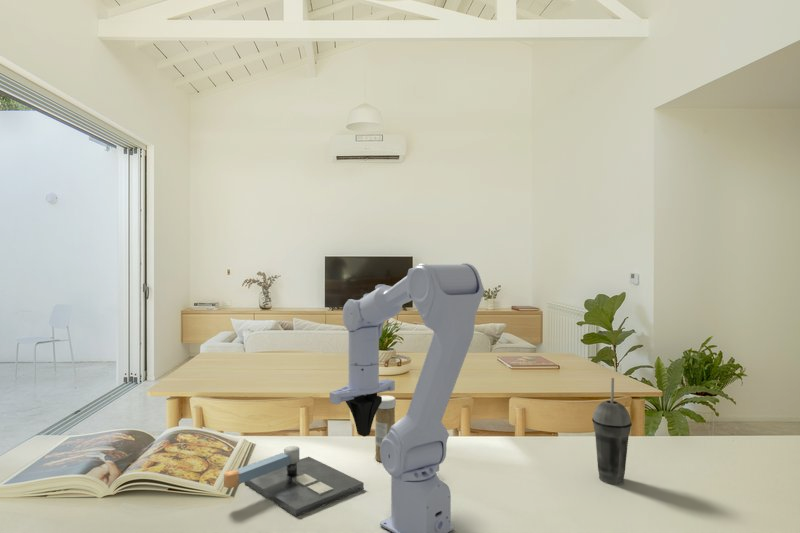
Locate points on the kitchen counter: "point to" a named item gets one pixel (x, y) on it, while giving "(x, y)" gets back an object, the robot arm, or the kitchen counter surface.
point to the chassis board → (305, 485)
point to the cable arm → (261, 467)
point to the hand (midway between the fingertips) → (363, 434)
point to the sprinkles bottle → (384, 421)
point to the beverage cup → (611, 439)
